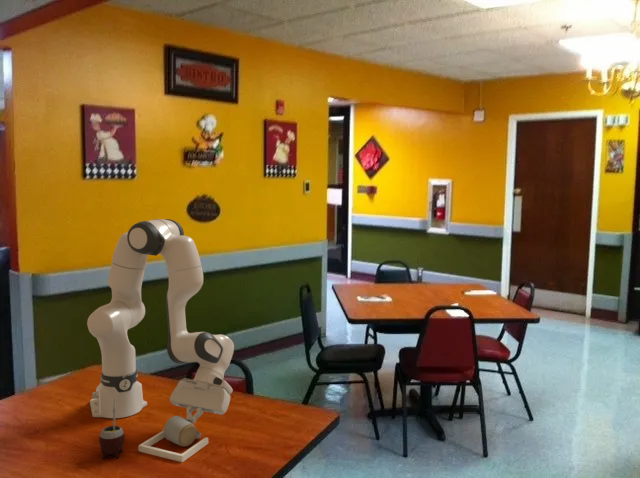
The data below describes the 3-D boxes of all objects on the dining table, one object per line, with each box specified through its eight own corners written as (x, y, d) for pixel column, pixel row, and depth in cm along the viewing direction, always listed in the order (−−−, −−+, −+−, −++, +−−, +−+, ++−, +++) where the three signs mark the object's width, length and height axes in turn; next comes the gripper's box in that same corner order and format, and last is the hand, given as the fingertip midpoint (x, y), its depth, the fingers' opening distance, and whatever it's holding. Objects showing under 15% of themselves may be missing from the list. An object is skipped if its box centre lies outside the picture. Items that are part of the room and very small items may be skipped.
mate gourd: (107, 463, 166) (106, 413, 165) (93, 454, 171) (92, 405, 170) (131, 454, 172) (129, 405, 170) (116, 446, 177) (115, 398, 175)
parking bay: (138, 451, 174) (138, 445, 173) (166, 433, 185) (166, 428, 185) (182, 462, 167) (182, 456, 167) (208, 443, 179) (208, 437, 179)
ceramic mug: (179, 451, 174) (179, 426, 173) (163, 443, 179) (162, 419, 178) (207, 439, 182) (207, 416, 181) (190, 432, 187) (190, 409, 186)
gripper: (177, 373, 193) (158, 412, 185) (229, 382, 185) (212, 423, 177) (185, 381, 197) (167, 420, 189) (237, 390, 189) (221, 431, 181)
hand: (189, 422), depth 183 cm, fingers closed
